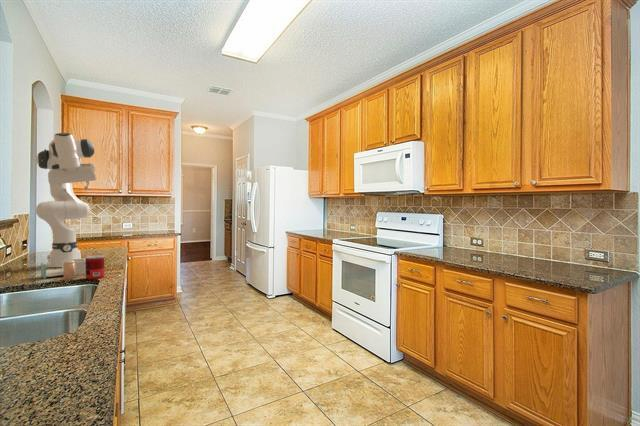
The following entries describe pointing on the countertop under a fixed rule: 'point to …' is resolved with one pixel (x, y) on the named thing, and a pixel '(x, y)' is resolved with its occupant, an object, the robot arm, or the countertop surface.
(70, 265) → the jar
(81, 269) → the housing
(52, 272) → the tray
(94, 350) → the countertop surface
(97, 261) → the canned food
